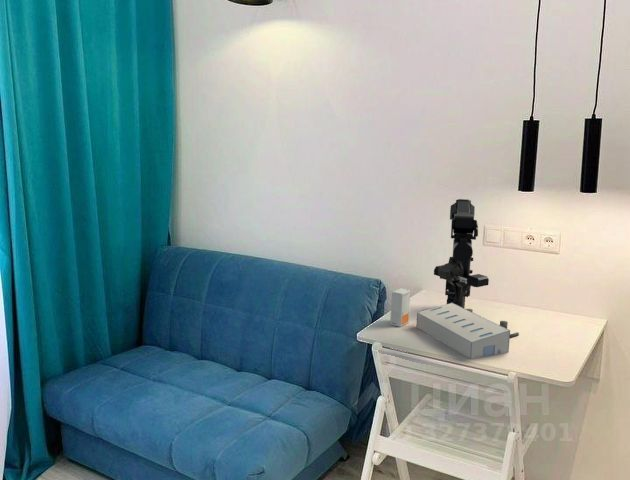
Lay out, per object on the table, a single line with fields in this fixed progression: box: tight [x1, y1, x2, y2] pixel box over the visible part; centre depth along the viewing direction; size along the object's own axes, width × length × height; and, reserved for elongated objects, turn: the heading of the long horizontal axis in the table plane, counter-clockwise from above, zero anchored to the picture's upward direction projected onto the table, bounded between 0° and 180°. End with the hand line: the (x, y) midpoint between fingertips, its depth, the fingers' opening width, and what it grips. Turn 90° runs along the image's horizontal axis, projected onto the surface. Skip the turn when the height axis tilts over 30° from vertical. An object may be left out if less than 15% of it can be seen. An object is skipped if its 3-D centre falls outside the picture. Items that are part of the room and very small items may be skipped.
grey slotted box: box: [415, 303, 511, 360], centre depth 196 cm, size 30×14×8 cm, turn 23°
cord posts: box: [465, 308, 520, 339], centre depth 208 cm, size 8×24×5 cm, turn 34°
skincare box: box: [390, 287, 411, 328], centre depth 209 cm, size 6×4×12 cm
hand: (458, 301), depth 195 cm, fingers closed
